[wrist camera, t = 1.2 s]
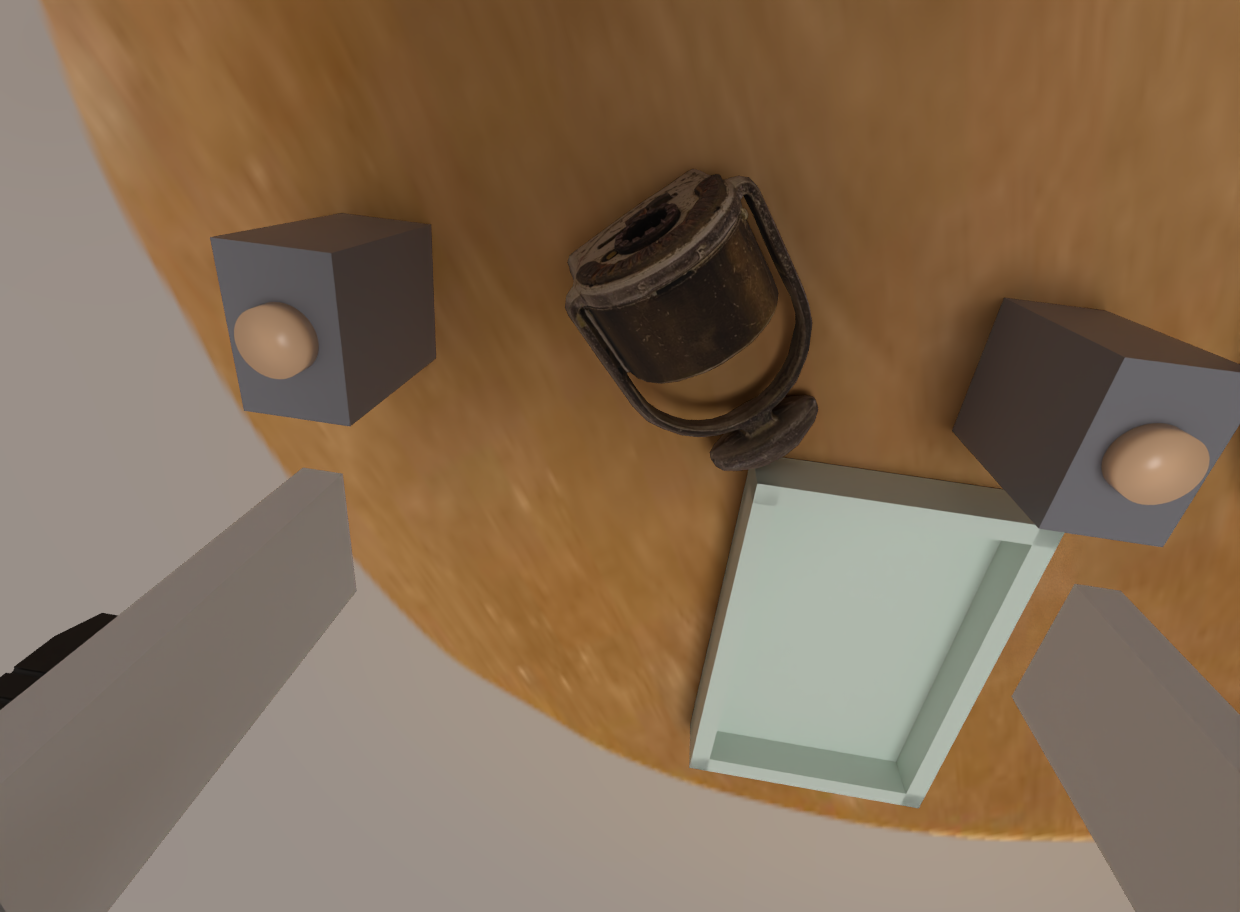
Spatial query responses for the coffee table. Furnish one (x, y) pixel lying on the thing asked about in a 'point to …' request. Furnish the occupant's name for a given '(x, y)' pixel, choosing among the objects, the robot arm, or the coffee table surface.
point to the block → (1097, 419)
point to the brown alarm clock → (695, 309)
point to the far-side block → (327, 313)
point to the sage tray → (859, 626)
